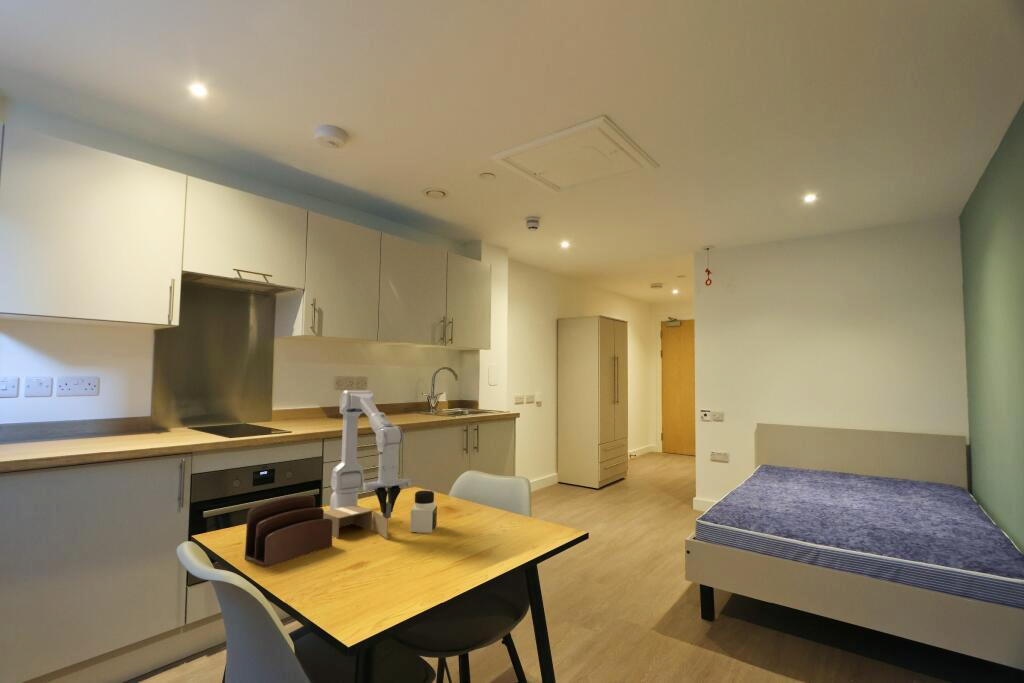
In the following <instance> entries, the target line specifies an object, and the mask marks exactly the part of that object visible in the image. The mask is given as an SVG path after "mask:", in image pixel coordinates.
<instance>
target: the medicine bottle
mask: <svg viewBox="0 0 1024 683" xmlns="http://www.w3.org/2000/svg"><path fill="white" fill-rule="evenodd" d="M437 512H438V504H435V492H434V491H432V490H429V489H428V490H427V489H424V490H423V489H422V490H418V491H416V492H415V493H414V505H413V507H412V508H411V509H410V529H409V532H410V533H411V532H417V533H416V534H418V533H419V534H432V532H433V533H434V531H435V529H436V528H437V525H438V524H437V521H438V520H437V518H438V517H437V515H438V514H437Z"/></svg>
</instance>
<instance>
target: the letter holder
mask: <svg viewBox="0 0 1024 683" xmlns="http://www.w3.org/2000/svg"><path fill="white" fill-rule="evenodd" d="M315 506H316V498H315V496H314V495H312V494H311V495H310V494H309V495H308V494H307V495H297V496H290V497H288V496H287V497H284V498H279V499H275V500H270V501H268V502H263V503H261V504H258V505H255V506H252V507H251V508H249V510H248V512H247V514H246V515H247V516H246V518H247V519H246V528H245V529H246V533H245V549H244V560H245V561H249V562H251V563H254V564H256V565H258V566H260V565H261V567H263V568H266V567H269V566H273V565H276V564H279V563H283V562H286V561H289V559H290V560H293V559H295V557H296V558H299V557H301V555H302V556H305V554H306V555H309V554H312V553H315V552H318V551H321V549H322V550H325V549H327V547H328V548H331V547H332V546H333V537H332V527H333V521H332V520H331V519H323V513H324V509H323V508H322V507H315ZM330 546H331V547H330ZM324 548H325V549H324ZM314 551H315V552H314ZM311 552H312V553H311ZM308 553H309V554H308ZM298 556H299V557H298ZM292 558H293V559H292ZM282 561H283V562H282Z"/></svg>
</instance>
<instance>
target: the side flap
mask: <svg viewBox="0 0 1024 683" xmlns="http://www.w3.org/2000/svg"><path fill="white" fill-rule="evenodd" d="M391 518H392V512H391V504H390V503H388V501H386V513H382V514H381V512H378V511H376V510H373V512H372V530H374V531H375V532H376V533H377V534H379V535H380V536H382V537H383V538H384V539H387V540H388V537H389V536H388V535H389V519H391Z"/></svg>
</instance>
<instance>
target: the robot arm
mask: <svg viewBox="0 0 1024 683" xmlns="http://www.w3.org/2000/svg"><path fill="white" fill-rule="evenodd" d="M339 414H341V415H342V437H341V438H342V439H341V440H342V441H341V460H340V461H341V462H340V463H338V464H337V465H336V466H335V467H333V469H332V475H331V478H330V487H331V489H332V490H333V493H332V494H331V496H330V501H329V502H330V504H329V510H333V509H336V508H341V507H347V506H352V505H357V506H358V504H359V503H358V500H359V498H358V496H359V491H361V488H362V491H364V492H367V491H368V492H369V491H372V490H374V492H375V495H376V497H377V499H378V502H379V507H380V513H382V514H383V513H386V502H388V503H390V504H391V513H393V512H394V507H395V503H396V501H397V499H398V497H399V495H400V493H401V490H402V488H401V487H405V486H408V487H409V486H412V479H411V478H409V477H408V478H399V477H398V476H399V475H398V474H399V472H398V471H399V446H400V445H401V444H402V443H403V438H404V437H403V436H404V434H403V430H402V428H401V426H400V425H395V424H393V423H392V421H390V419H389V418H388V417H387V415H386V414H385V412H382V411H381V412H380V411H379V409H378V407H377V405H376V404H375V395H374V394H373V392H372V391H371V390H369V389H368V390H343V392H342V393H341V395H340V396H339ZM361 414H365V415H366V416H367V418H368V425H369V426H370V428H371V429H372V431H373V432H374V433H375V435H376V436H375V441H376V444H377V445H376V446H377V451H378V472H377V473H378V474H377V475H378V476H377V477H378V479H377V480H376V481H368V482H365V477H364V476H365V475H364V468H363V466H362V465H361V464H360V463H358V462H357V461H358V460H357V458H358V457H357V454H358V433H359V432H358V429H359V428H358V427H359V426H358V425H359V417H360V415H361Z"/></svg>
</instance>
